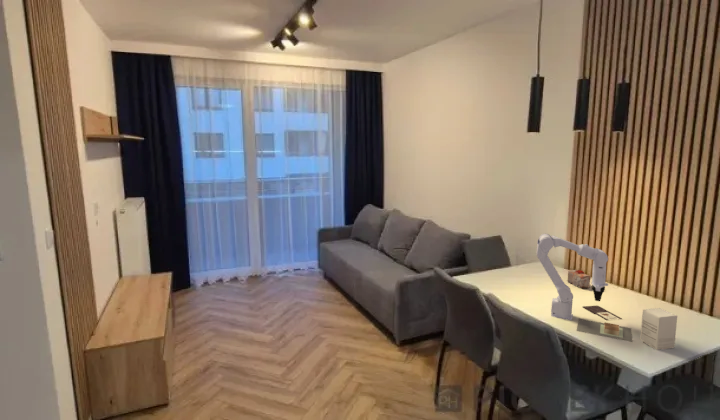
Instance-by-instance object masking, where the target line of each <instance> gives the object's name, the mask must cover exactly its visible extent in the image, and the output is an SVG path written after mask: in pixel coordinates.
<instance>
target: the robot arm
mask: <svg viewBox="0 0 720 420" xmlns="http://www.w3.org/2000/svg"><path fill="white" fill-rule="evenodd" d="M536 243H537V244H536V253H535V254H536V257H537V259H538V261H539V262H540V264H541V265H542V267H543V268H544V271H545V272H546V273H547V275H548V277H549V279H550V280H551V282H552V283H553V285H554V287H555V289H556V292H557V293H558V296H557V297H555V298H554V297H553V298H552V300H551V308H550V312H551V313H550V317H551V318H552V317H553V318H559V319H563V320H567V321H568V320H569V321H573V316H574V314H572V313H573V299H574V294H573V293H572V291H571V288H570V286H568V285H567V284H566V283H565V282H564V280H563V279H562V277H561V276H560V274H559V272H558V270H557V268H556V267H555V266H554V264H553V263H552V261H551V259H550V257H549V256H548V255H549V252H550V251H551V249H553V248H558V247H562V248H565V249H568V250H571V251H574V252H576V254H577V256H581V257H583V258H587V259H589V260H593V261H592V274H591V276H592V277H591V281H590V283H591V289H592V292H593V296H594V297H593V298H594V301H596V302H601V299H602V296H603V293H604V292H605V291H606V287H608V286H609V283H606V280H607V279H606V277H607V276H606V275H607V262H608V261H609V257H608V255H607V253H606V252H605V251H604V250H602V249H600V248H598V247H595V248H594V247H592V246H589V244H587V243H585V244H583V243H582V244H576V243H574V242H572V241H569V240H566V239H564V238H561V237H559V236H556V235H550V234H549V233H541V234H540V236H539V237H538V239H537V241H536Z"/></svg>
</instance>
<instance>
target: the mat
mask: <svg viewBox="0 0 720 420" xmlns="http://www.w3.org/2000/svg"><path fill="white" fill-rule="evenodd" d="M576 332H580V333H585V334H586V333H587V334H590V335H595V336H601V337H605V338H610V339H615V340H619V341H625V342H630V343H633V334H632V328H631V327H627V326H622V325H619V336H617V335H612V334H607V333H604V322H601V321H595V320H588V319H584V318H578V321H577V327H576Z"/></svg>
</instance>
